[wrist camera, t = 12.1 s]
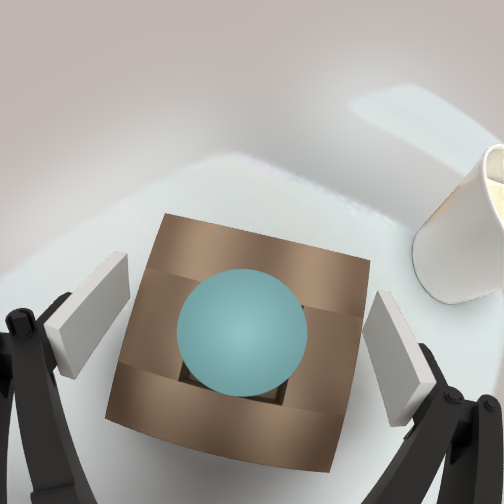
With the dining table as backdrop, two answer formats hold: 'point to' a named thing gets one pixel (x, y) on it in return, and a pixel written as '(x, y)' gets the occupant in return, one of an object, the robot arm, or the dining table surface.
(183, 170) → the dining table surface
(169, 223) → the walnut block
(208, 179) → the dining table surface
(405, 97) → the dining table surface
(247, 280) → the teal peg
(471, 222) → the candle holder
